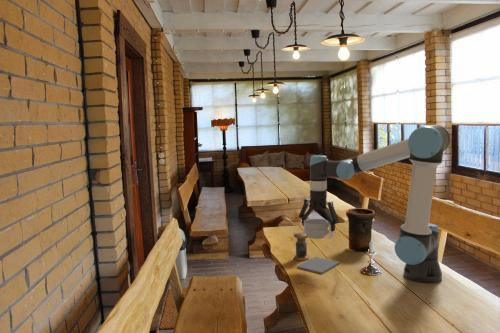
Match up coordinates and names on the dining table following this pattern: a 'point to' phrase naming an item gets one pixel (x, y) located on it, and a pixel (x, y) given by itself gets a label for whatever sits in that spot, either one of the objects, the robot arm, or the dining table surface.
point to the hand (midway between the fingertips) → (318, 235)
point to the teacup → (316, 228)
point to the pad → (318, 265)
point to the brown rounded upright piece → (301, 247)
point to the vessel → (359, 229)
